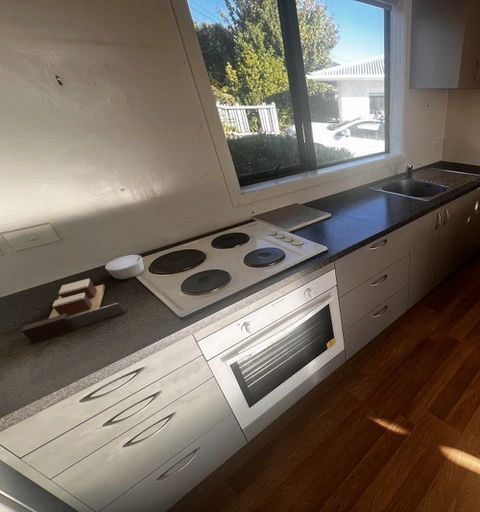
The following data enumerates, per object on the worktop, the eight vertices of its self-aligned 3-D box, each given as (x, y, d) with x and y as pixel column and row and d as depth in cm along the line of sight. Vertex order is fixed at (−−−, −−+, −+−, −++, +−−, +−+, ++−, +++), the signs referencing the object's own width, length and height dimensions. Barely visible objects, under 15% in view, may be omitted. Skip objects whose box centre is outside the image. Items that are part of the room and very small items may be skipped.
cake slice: (61, 318, 90) (52, 306, 88) (64, 312, 93) (54, 300, 90) (91, 309, 94) (82, 297, 91) (92, 304, 96) (84, 292, 93)
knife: (32, 343, 83) (21, 331, 80) (35, 338, 85) (24, 325, 82) (124, 314, 93) (116, 302, 90) (124, 310, 95) (117, 298, 92)
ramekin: (141, 277, 111) (135, 266, 108) (106, 284, 108) (99, 272, 105) (150, 263, 120) (145, 252, 117) (118, 268, 117) (112, 257, 114)
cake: (67, 305, 96) (58, 293, 93) (70, 297, 100) (62, 285, 97) (94, 297, 99) (86, 285, 96) (96, 289, 103) (89, 278, 100)
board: (46, 329, 88) (44, 327, 87) (61, 299, 101) (59, 296, 100) (97, 314, 93) (95, 311, 93) (105, 286, 106) (103, 284, 106)
